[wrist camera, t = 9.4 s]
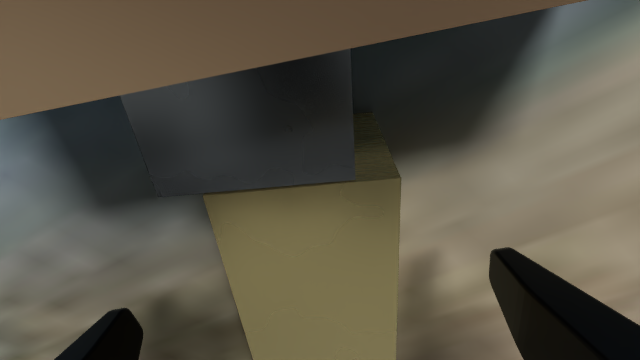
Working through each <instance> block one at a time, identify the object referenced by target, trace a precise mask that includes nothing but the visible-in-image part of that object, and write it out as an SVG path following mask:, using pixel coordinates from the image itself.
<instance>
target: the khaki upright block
mask: <svg viewBox="0 0 640 360" xmlns="http://www.w3.org/2000/svg"><path fill="white" fill-rule="evenodd" d="M353 126H354V152H355V179H356V180H349V181H338V182H326V183H315V184H303V185H292V186H281V187H269V188H258V189H246V190H235V191H223V192H212V193H204V194H203V199H204V202H205V205H206V209H207V212H208V215H209V218H210V222H211V225H212V228H213V231H214V235H215V238H216V241H217V244H218V248H219V251H220V254H221V257H222V261H223V264H224V267H225V270H226V273H227V277H228V280H229V283H230V286H231V290H232V293H233V296H234V299H235V303H236V306H237V309H238V312H239V316H240V319H241V322H242V325H243V329H244V332H245V335H246V338H247V342H248V345H249V348H250V351H251V355H252V358H253V360H396V338H397V303H398V268H399V234H400V199H401V177H400V174H399V172H398V170H397V168H396V165H395V163H394V161H393V158H392V156H391V154H390V152H389V149H388V147H387V145H386V142H385V140H384V138H383V136H382V133H381V131H380V129H379V127H378V124H377V122H376V120H375V117H374V115H373V113H372V112H369V113H358V114H353Z"/></svg>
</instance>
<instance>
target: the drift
mask: <svg viewBox="0 0 640 360" xmlns="http://www.w3.org/2000/svg"><path fill="white" fill-rule="evenodd" d="M120 98H121V101H122V103H123V106H124V109H125V111H126V114H127V116H128V119H129V122H130V124H131V127H132V130H133V132H134V135H135V138H136V140H137V143H138V146H139V148H140V151H141V154H142V156H143V159H144V161H145V164H146V167H147V169H148V172H149V175H150V177H151V180H152V183H153V185H154V188H155V191H156V193H157V196H158V197H166V196H177V195H189V194H200V193H212V192H223V191H235V190H246V189H258V188H269V187H281V186H292V185H303V184H315V183H326V182H338V181H349V180H356V179H355V152H354V126H353V99H352V73H351V48H350V49H345V50H340V51H335V52H331V53H326V54H321V55H316V56H311V57H306V58H301V59H296V60H291V61H286V62H281V63H276V64H272V65H267V66H262V67H257V68H252V69H247V70H242V71H237V72H232V73H227V74H222V75H218V76H213V77H208V78H203V79H198V80H193V81H188V82H183V83H178V84H173V85H168V86H163V87H159V88H154V89H149V90H144V91H139V92H134V93H129V94H124V95H120Z"/></svg>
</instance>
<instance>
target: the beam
mask: <svg viewBox="0 0 640 360" xmlns="http://www.w3.org/2000/svg"><path fill="white" fill-rule="evenodd" d="M581 1H586V0H0V120H1V119H6V118H11V117H16V116H21V115H26V114H31V113H36V112H41V111H46V110H50V109H55V108H60V107H65V106H70V105H75V104H80V103H85V102H90V101H95V100H100V99H105V98H109V97H114V96H119V95H124V94H129V93H134V92H139V91H144V90H149V89H154V88H159V87H163V86H168V85H173V84H178V83H183V82H188V81H193V80H198V79H203V78H208V77H213V76H218V75H222V74H227V73H232V72H237V71H242V70H247V69H252V68H257V67H262V66H267V65H272V64H276V63H281V62H286V61H291V60H296V59H301V58H306V57H311V56H316V55H321V54H326V53H331V52H335V51H340V50H345V49H350V48H355V47H360V46H365V45H370V44H375V43H380V42H385V41H390V40H394V39H399V38H404V37H409V36H414V35H419V34H424V33H429V32H434V31H439V30H444V29H448V28H453V27H458V26H463V25H468V24H473V23H478V22H483V21H488V20H493V19H498V18H503V17H507V16H512V15H517V14H522V13H527V12H532V11H537V10H542V9H547V8H552V7H557V6H561V5H566V4H571V3H576V2H581Z"/></svg>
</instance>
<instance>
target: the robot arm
mask: <svg viewBox="0 0 640 360" xmlns="http://www.w3.org/2000/svg"><path fill="white" fill-rule="evenodd" d="M489 279H490V283H491V286H492V288H493V291H494V293H495V295H496V298H497V300H498V303H499V305H500V307H501V310H502V312H503V315H504V317H505V319H506V322H507V324H508V327H509V329H510V332H511V334H512V336H513V339H514V341H515V343H516V345H517V347H518V349H519V351H520V353H521V355H522V357H523V359H524V360H640V325H638V324H636V323H635V322H633V321H631V320H630V319H628V318H626V317H625V316H623V315H622V314H620V313H618V312H617V311H615V310H613V309H612V308H610V307H608V306H607V305H605V304H603V303H602V302H600V301H598V300H597V299H595V298H593V297H592V296H590V295H588V294H587V293H585V292H584V291H582V290H580V289H579V288H577V287H575V286H574V285H572V284H570V283H569V282H567V281H565V280H564V279H562V278H560V277H559V276H557V275H555V274H554V273H552V272H550V271H549V270H547V269H546V268H544V267H542V266H541V265H539V264H537V263H536V262H534V261H532V260H531V259H529V258H527V257H526V256H524V255H522V254H521V253H519V252H517V251H516V250H514V249H512V248H509V247H506V248H500V249H494V250H492V251H491V254H490V266H489ZM142 340H143V329H142V327H141V325H140V324H139V322H138V321H137V320H136V318H135V317H134V315H133V314H132V312H131V311H130V310H129V309H127V308H121V309H115V310H111V311H109V312H107V313H106V314H105V315H104V316H103V317H102V318H101V319H99V320H98V321H97V322H96V323H95V324H94V325H93V326H92V327H90V328H89V329H88V330H87V331H86V332H85V333H84V334H83V335H81V336H80V337H79V338H78V339H77V340H76V341H75V342H73V343H72V344H71V345H70V346H69V347H68V348H67V349H66V350H64V351H63V352H62V353H61V354H60V355H59V356H58V357H56V358H55V359H54V360H138V359H139V354H140V350H141V345H142Z"/></svg>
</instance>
